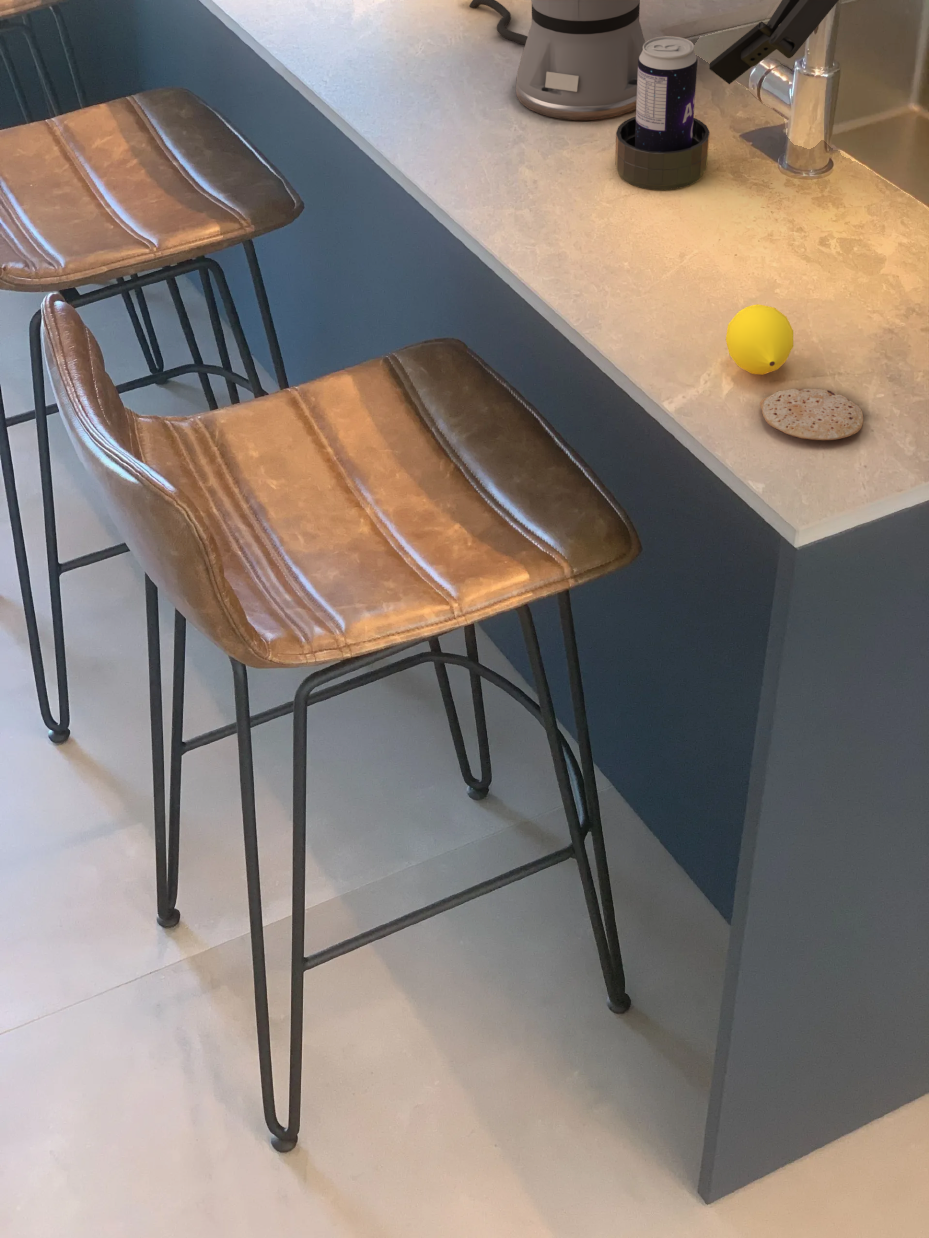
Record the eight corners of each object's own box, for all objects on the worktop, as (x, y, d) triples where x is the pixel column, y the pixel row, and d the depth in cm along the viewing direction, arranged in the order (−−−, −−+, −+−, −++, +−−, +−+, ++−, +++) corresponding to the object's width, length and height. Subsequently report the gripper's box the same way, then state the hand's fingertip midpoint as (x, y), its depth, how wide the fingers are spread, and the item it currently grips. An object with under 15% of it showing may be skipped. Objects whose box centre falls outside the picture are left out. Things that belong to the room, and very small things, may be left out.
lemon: (715, 347, 119) (720, 291, 115) (778, 342, 119) (785, 285, 115) (734, 395, 114) (740, 338, 110) (800, 388, 114) (808, 331, 110)
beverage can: (687, 178, 140) (695, 59, 132) (631, 176, 141) (635, 57, 133) (692, 153, 144) (700, 35, 136) (637, 150, 145) (642, 33, 137)
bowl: (609, 153, 146) (610, 116, 143) (696, 146, 146) (699, 109, 144) (623, 194, 139) (624, 156, 137) (714, 187, 140) (717, 149, 137)
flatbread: (864, 401, 113) (866, 391, 112) (859, 451, 108) (861, 440, 107) (763, 388, 115) (764, 378, 114) (752, 437, 109) (754, 426, 109)
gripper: (937, -2, 116) (745, 138, 132) (926, -193, 127) (750, -43, 143) (878, -55, 113) (688, 96, 128) (872, -247, 124) (698, -86, 139)
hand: (721, 23), depth 136 cm, fingers open, 13 cm apart
